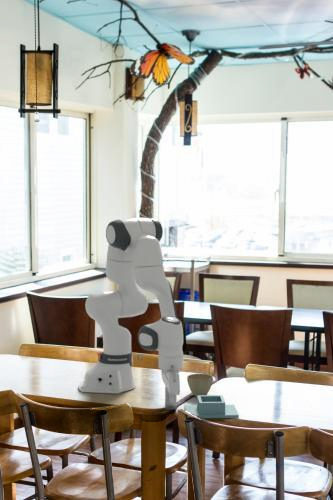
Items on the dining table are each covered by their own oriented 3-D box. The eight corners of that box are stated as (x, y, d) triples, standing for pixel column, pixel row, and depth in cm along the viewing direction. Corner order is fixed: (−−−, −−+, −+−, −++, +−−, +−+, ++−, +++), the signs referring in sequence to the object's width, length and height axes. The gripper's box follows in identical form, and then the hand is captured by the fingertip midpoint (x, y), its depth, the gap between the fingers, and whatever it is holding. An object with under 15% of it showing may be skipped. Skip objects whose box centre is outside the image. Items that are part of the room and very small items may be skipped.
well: (186, 418, 245) (186, 404, 244) (184, 407, 257) (184, 394, 256) (238, 417, 246) (238, 403, 245) (234, 407, 258) (234, 393, 257)
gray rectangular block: (165, 409, 255) (165, 387, 254) (164, 406, 259) (164, 384, 258) (176, 409, 255) (176, 387, 254) (175, 406, 259) (175, 384, 258)
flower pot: (185, 391, 278) (185, 373, 277) (210, 391, 278) (211, 373, 278) (188, 399, 268) (188, 380, 267) (214, 398, 269) (214, 379, 268)
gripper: (184, 369, 244) (184, 408, 246) (175, 355, 265) (175, 392, 266) (166, 370, 244) (165, 409, 245) (158, 356, 264) (158, 392, 265)
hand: (170, 400), depth 255 cm, fingers closed on gray rectangular block, 2 cm apart
